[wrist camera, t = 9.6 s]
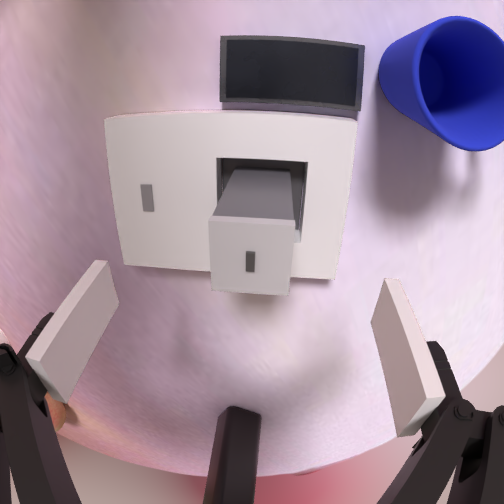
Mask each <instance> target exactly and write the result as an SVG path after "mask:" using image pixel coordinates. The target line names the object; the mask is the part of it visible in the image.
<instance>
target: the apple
mask: <svg viewBox="0 0 504 504" xmlns="http://www.w3.org/2000/svg"><path fill="white" fill-rule="evenodd" d="M45 398H46V400H47V403H48V407H49V411H50V415H51V418H52V422H53V425H54V429H55V432H57V431H58V430H60V429H61V428H62V426H63V424H64V422H65V419H66V410H65V407H64V405H63V403H62V402H60V401H57V400H54V399H53V398H52V397H51V396H50V394H49V393H46V395H45Z"/></svg>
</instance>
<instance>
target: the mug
mask: <svg viewBox="0 0 504 504" xmlns="http://www.w3.org/2000/svg"><path fill="white" fill-rule="evenodd" d="M379 81H380V85H381V88H382V90H383V92H384V94H385V96H386V98H387V99H388V101H389V102H390V103H391V104H392V105H393V106H394V107H395V108H396V109H397V110H398V111H399V112H401V113H402V114H404V115H406V116H407V117H409V118H410V119H412V120H414V121H415V122H417V123H419V124H420V125H422V126H423V127H425V128H426V129H428V130H430V131H431V132H433V133H434V134H436V135H437V136H439V137H440V138H442V139H443V140H445V141H446V142H447V143H449V144H451V145H453V146H455V147H457V148H459V149H463V150H467V151H484V150H488V149H491V148H493V147H495V146H497V145H499V144H500V143H501V142H503V141H504V42H503V40H502V39H501V38H500V37H499V36H498V35H497V34H496V33H495V32H494V31H493V30H492V29H490V28H489V27H487V26H486V25H484V24H483V23H481V22H479V21H477V20H474V19H471V18H468V17H462V16H450V17H445V18H442V19H439V20H437V21H435V22H433V23H431V24H428V25H426V26H424V27H422V28H420V29H418V30H416V31H414V32H412V33H410V34H408V35H406V36H404V37H403V38H401V39H399V40H397V41H395V42H394V43H392V44H391V45H390V46H389V47H388V48H387V49H386V50H385V52H384V54H383V56H382V58H381V61H380V64H379Z"/></svg>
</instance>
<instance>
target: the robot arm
mask: <svg viewBox="0 0 504 504" xmlns="http://www.w3.org/2000/svg"><path fill="white" fill-rule="evenodd" d="M118 306H119V301H118V297H117V293H116V290H115V286H114V282H113V278H112V274H111V270H110V266H109V262H108V261H105V260H95V261H94V262H93V263H92V264H91V266H90V267H89V268H88V269H87V271H86V272H85V273H84V275H83V276H82V277H81V278H80V280H79V281H78V282H77V284H76V285H75V286H74V288H73V289H72V290H71V292H70V293H69V294H68V296H67V297H66V298H65V300H64V301H63V302H62V304H61V305H60V306H59V308H58V309H57V311H56V312H55V313H52V312H50V313H49V314H47V315H46V316H45V317H44V318H42V319H41V321H40V322H39V324H38V325H37V326H36V329H34V331H33V332H32V335H30V336H29V338H28V339H27V341H26V342H25V344H24V345H23V347H22V348H21V350H20V351H19V353H18V354H17V355H16V353H15V352H14V350H13V348H12V346H10V345H9V344H6V343H2V344H0V504H12V502H11V487H10V469H11V473H12V477H13V481H14V485H15V488H16V492H17V495H18V499H19V502H20V504H82V503H81V501H80V499H79V496H78V494H77V492H76V489H75V487H74V484H73V482H72V479H71V476H70V474H69V471H68V468H67V466H66V463H65V460H64V457H63V454H62V451H61V448H60V445H59V442H58V439H57V436H56V432H55V429H54V425H53V422H52V418H51V415H50V411H49V407H48V403H47V400H46V398H45V395H46V393H47V391H48V393H49V394H50V396H51V397H52V398H53V399H54V400H57V401H60V402H63V403H66V404H67V403H68V400H69V398H70V396H71V394H72V392H73V390H74V388H75V386H76V384H77V382H78V380H79V378H80V376H81V374H82V372H83V370H84V368H85V366H86V364H87V362H88V361H89V359H90V357H91V355H92V353H93V351H94V349H95V347H96V345H97V344H98V342H99V340H100V338H101V336H102V334H103V332H104V331H105V329H106V327H107V325H108V323H109V322H110V320H111V318H112V316H113V315H114V313H115V311H116V309H117V308H118ZM371 325H372V329H373V333H374V336H375V340H376V344H377V348H378V352H379V356H380V360H381V364H382V368H383V372H384V376H385V381H386V385H387V389H388V394H389V399H390V403H391V408H392V413H393V418H394V423H395V428H396V433H397V437H403V436H412V435H415V434H416V433H417V432H418V430H419V429H420V428H421V431H422V435H423V436H422V437H421V438H420V439H419V440H418V442H417V443H416V444H415V445H414V446H413V447H412V448H414V450H413V451H412V453H411V455H410V456H409V458H408V459H407V461H406V462H405V464H404V465H403V467H402V468H401V470H400V472H399V473H398V474H397V476H396V477H395V479H394V480H393V482H392V483H391V485H390V486H389V488H388V489H387V490H386V492H385V493H384V494H383V496H382V497H381V498H380V500H379V501H378V503H377V504H436V503H437V501H438V499H439V498H440V496H441V494H442V492H443V490H444V489H445V487H446V485H447V483H448V481H449V479H450V477H451V475H452V473H453V471H454V469H455V467H456V470H455V474H454V479H453V483H452V487H451V490H450V494H449V498H448V501H447V504H504V406H502V405H501V406H499V407H497V408H496V409H495V410H494V411H493V412H485V411H479V410H475V408H474V406H473V405H472V404H471V403H470V402H469V401H468V400H465V399H463V398H462V396H461V393H460V391H459V388H458V385H457V382H456V380H455V377H454V374H453V372H452V369H451V367H450V364H449V362H448V361H447V360H448V359H447V357H446V354H445V352H444V350H443V349H442V347H441V346H440V345H439V344H438V343H437V342H436V341H429V342H426V340H425V338H424V335H423V333H422V330H421V328H420V326H419V323H418V321H417V318H416V316H415V314H414V311H413V309H412V307H411V304H410V302H409V300H408V297H407V295H406V293H405V291H404V288H403V286H402V284H401V282H400V280H399V279H389V278H384V282H383V285H382V288H381V292H380V295H379V298H378V301H377V304H376V307H375V311H374V314H373V317H372V320H371ZM456 465H457V466H456Z"/></svg>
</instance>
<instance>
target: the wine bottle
mask: <svg viewBox="0 0 504 504" xmlns="http://www.w3.org/2000/svg"><path fill="white" fill-rule="evenodd" d="M260 429H261V416H260V415H258V414H256V413H253V412H250V411H247V410H244V409H241V408H238V407H229V408H227V409H226V410H225V411H224V412H223V413H222V414H221V415H220V416H219V417H218V421H217V427H216V432H215V438H214V444H213V449H212V455H211V460H210V466H209V471H208V477H207V482H206V488H205V494H204V500H203V504H253V503H254V494H255V484H256V474H257V463H258V452H259V440H260Z"/></svg>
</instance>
